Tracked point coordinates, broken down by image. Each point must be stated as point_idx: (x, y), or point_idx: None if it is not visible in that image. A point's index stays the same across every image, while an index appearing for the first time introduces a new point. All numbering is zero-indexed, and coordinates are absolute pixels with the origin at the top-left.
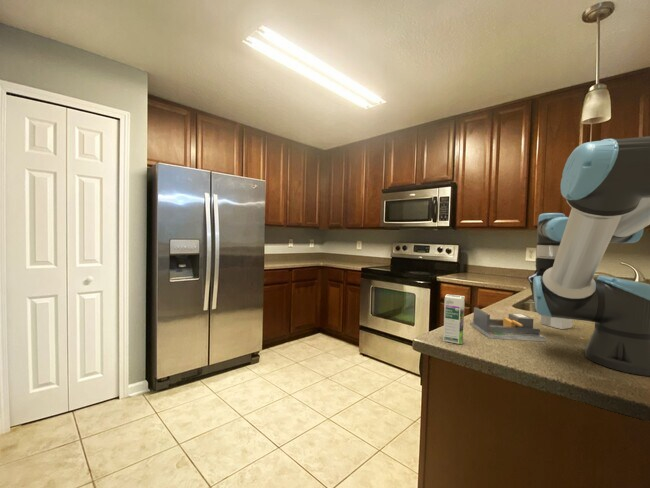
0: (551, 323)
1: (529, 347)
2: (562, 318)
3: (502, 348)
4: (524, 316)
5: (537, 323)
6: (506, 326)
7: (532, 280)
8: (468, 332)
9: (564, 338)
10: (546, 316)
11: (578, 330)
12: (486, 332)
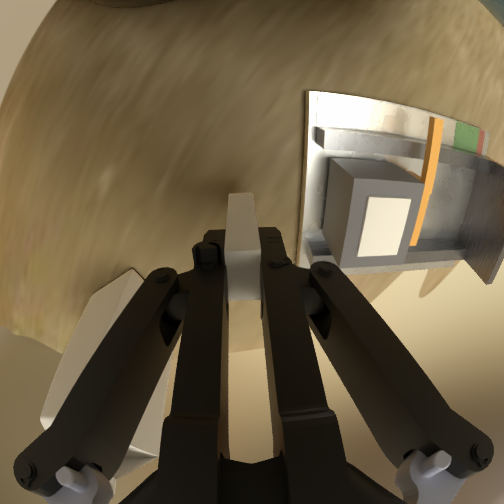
0: None
1: (414, 35)
2: (118, 299)
3: (484, 49)
4: (376, 215)
5: None
6: None
7: (476, 435)
8: None
9: (182, 150)
10: (255, 214)
11: (82, 270)
12: (485, 153)
